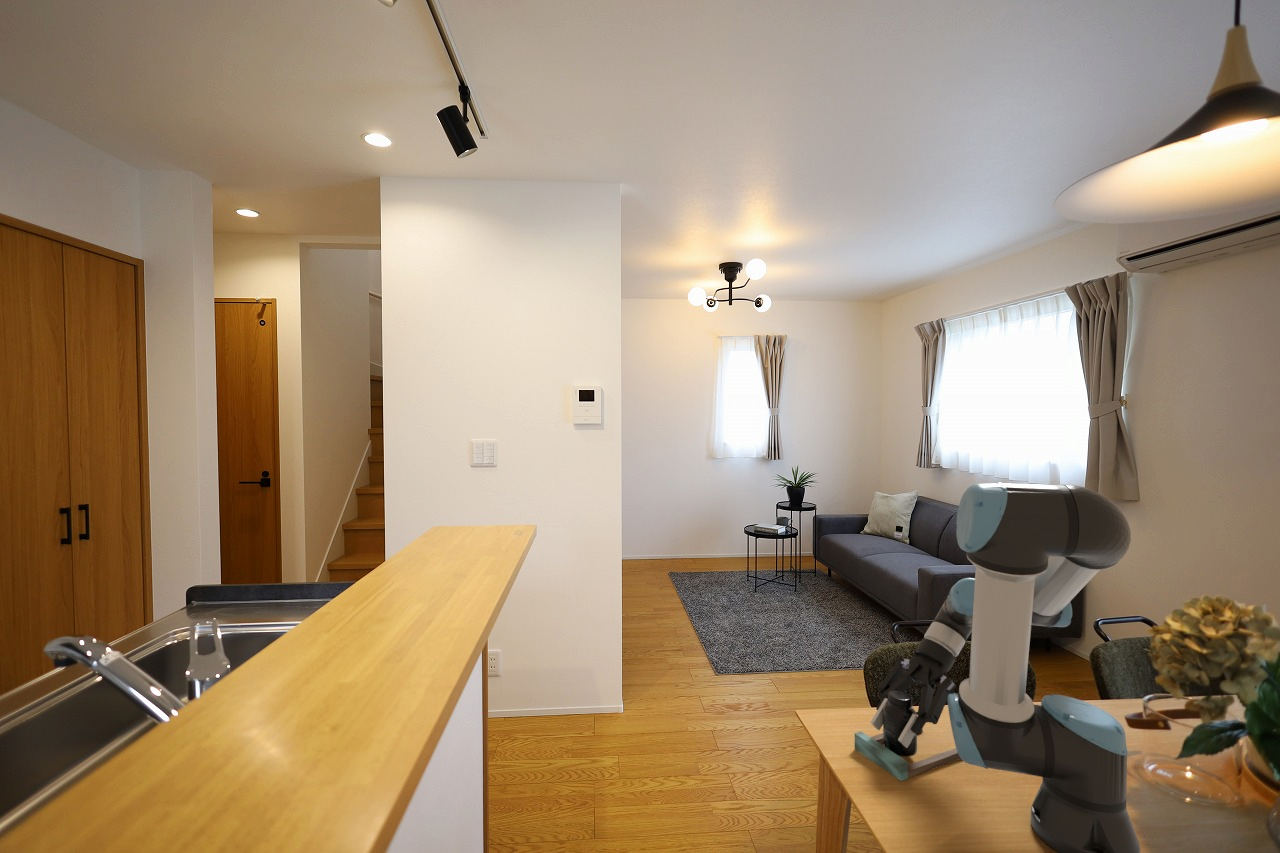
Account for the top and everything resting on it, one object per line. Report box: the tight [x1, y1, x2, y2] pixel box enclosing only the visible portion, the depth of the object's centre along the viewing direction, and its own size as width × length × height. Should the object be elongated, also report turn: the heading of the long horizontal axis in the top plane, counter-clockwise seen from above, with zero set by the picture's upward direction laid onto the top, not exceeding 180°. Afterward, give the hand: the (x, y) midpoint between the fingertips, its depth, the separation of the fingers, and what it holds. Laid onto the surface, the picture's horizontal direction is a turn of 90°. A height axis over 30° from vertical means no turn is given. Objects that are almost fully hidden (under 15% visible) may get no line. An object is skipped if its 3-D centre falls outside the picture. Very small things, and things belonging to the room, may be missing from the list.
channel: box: [854, 727, 962, 782], centre depth 124 cm, size 12×20×4 cm, turn 114°
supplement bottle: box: [882, 690, 918, 758], centre depth 123 cm, size 7×7×12 cm
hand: (888, 734), depth 121 cm, fingers closed on supplement bottle, 7 cm apart
